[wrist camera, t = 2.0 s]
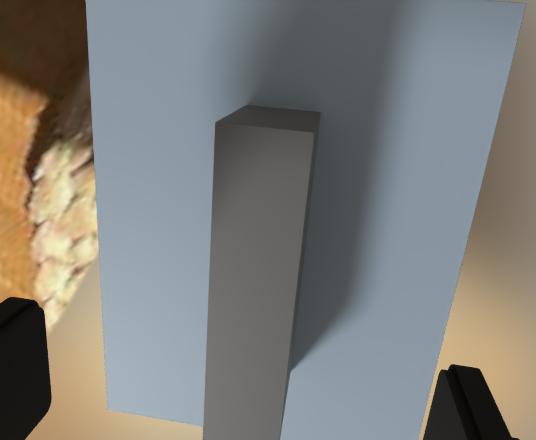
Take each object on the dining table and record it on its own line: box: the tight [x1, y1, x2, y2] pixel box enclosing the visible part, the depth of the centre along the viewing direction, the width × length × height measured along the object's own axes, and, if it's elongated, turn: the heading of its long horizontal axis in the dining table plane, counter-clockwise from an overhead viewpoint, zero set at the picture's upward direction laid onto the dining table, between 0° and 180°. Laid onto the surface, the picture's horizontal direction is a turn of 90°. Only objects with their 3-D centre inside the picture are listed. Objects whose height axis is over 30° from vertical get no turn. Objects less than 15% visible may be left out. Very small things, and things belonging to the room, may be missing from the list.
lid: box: [86, 0, 526, 440], centre depth 15 cm, size 17×13×5 cm
